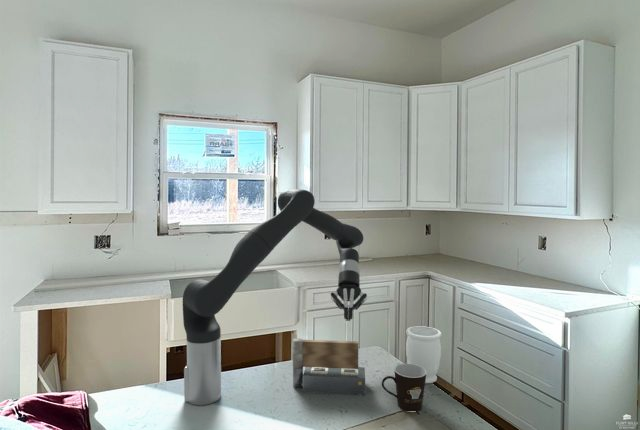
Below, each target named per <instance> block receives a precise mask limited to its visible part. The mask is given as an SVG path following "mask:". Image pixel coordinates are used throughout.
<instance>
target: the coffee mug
mask: <svg viewBox="0 0 640 430" xmlns="http://www.w3.org/2000/svg"><path fill="white" fill-rule="evenodd" d="M393 369H394V370H393V371H394V376H391V375H387V376H385V377H384V378H383V379H382V381H381V387H382V389H383V390H384V391H385V392H386V393H388V394H389V395H392V396H393V397H395V398H396V399H397V407H398V408H399V409H400V410H402V411H403V412H406V411H416V412H415V413H419V412H420V411H422V409H423V401H424V394H425V387H426V383H425V381H426V373H427V371H426V370H425V369H424V368H423V367H421V366H419V365H415V364H408V362H407V363H400V364H397V365H395V366H394V368H393ZM388 379H391V380H393V382H394V383H395V389H396V393H393V392H392V391H390V390H388V389H387V388H386V387H385V382H386V381H387V380H388Z"/></svg>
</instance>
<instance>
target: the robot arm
mask: <svg viewBox="0 0 640 430" xmlns="http://www.w3.org/2000/svg"><path fill="white" fill-rule="evenodd" d="M315 203H316V202H315V196H314V194H313V193H312V192H311V191H309V190H306V189H302V188H300V189H299V188H298V189H295V188H288V189H285V190H283V191H282V192H281V193H279V196H278V198H277V206H278V209H279V211H280V212H278V213H277V214H276V215H274V216H272V217H271V218H268V219H267V220H265V221H263V222H261V223H260V224H258V225H256V226H255V227H254V226H253V228H251V230H249V231H248V232H247V233H246V234H245V235H244V236H243V237H242V238H241V239H240V240H238V242H237V244H236V245H235V247H234V248H233V251H232V253H231V255H230V257H229V260H228V262H227V263H226V265H225V266H224V267H223V269H222V270H221V271H220V272H219V273H217V275H216V276H214V277H213V278H212V279H211V280H210V281H208V280H206V279H201V278H200V279H195V280H192V281H191V282H190V283H188V284H187V286H186V287H185V289H184V290H183V293H182V294H183V295H182V317H183V318H182V320H183V328H184V331H185V334H186V336H185V337H186V365H185V367H184V368H183V375H184V376H183V381H184V383H183V388H184V389H183V391H184V392H183V393H184V394H183V395H184V396H183V397H184V402H187V403H189V404H191V405H194V406H205V405H209V404H213V403H215V402H217V401H219V400H220V398H221V397H222V363H221V362H222V354H221V353H222V352H221V350H222V344H221V343H222V340H221V338H222V335H221V334H222V333H221V331H222V330H221V326H220V323H219V322H218V321H217V319H216V316H215V315H216V314H218V313H220V311H221V310H222V309H223V308H224V307H225V306H226V305H227V303H228V302H229V301H230V299H231V298H232V297H233V295H234V294H235V292H236V291H237V290H238V289H239V287H240V286H241V285H242V283H244V281H245V280H246V279H247V278H249V276H250V275H251V274H252V273H253V272H254V270H255V269H256V268H257V267H258V266H259V265H260V264H261V263H262V262H263V261H265V259H266V258H268V256H269V255H270V254H271V252H273V250H274V249H275V248H276V247H277V246H278V245H279V244H280V243H281V242H282V240H284V239H285V238H286V236H288V234H289V233H290V232H291V231H292V230H293V229H294V228H296V227H297V226H298V225H299V224H301V223H302V222H303V223H305V224H306V225H309V226H310V227H313V228H314V229H316V230H318V231H319V232H320V233H321V234H323V235H325V236H327V237H328V238H330V239H331V240H334V241H335V243H336V247H337V250H338V254H339V267H338V275H337V276H338V280H337V281H338V283H337V288H336V291H334V292H331V293H330V299H331V300H332V302H334V304H335V306H337V308H338V309H339V310H343V318H344V320H345V321H346V322H351V320H353V314H354V313H353V311H354V310H359V308H361V306H363V304H364V303H365V302H366V300H367V297H368V294H367V293H364V292H362V289H361V288H360V286H361V285H360V282H361V279H360V278H361V276H360V275H361V274H360V255H359V252H358V250H357V249H355V248H357V247H358V246H360V245H362V244H363V242H364V235H363V232H362V231H361V230H360V229H359V227H358V228H357V227H356V226H353V225H350V224H346V223H343V222H342V221H340V220H339V219H337V218H335V217H334V216H332V215H331V214H328V213H326V212H323V211H322V210H319V209H317V208H315ZM340 299H341V300H340ZM356 300H357V301H356ZM342 301H343V302H342ZM355 301H356V302H355ZM348 302H349V303H348Z"/></svg>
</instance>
